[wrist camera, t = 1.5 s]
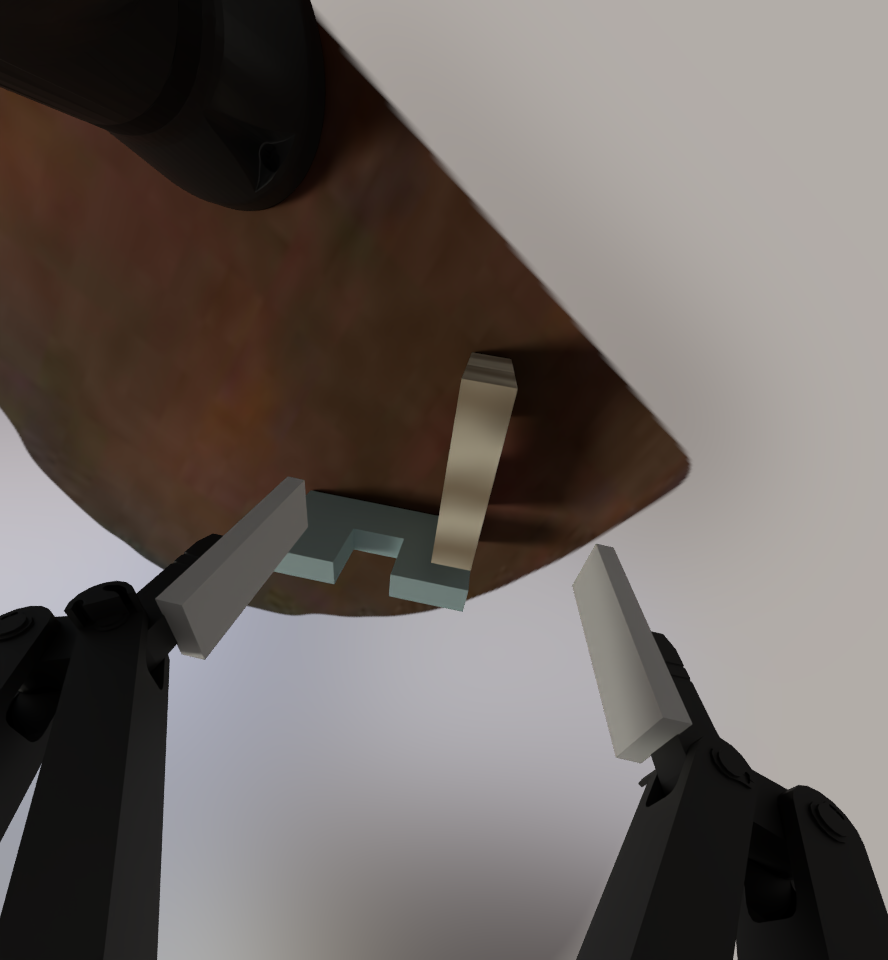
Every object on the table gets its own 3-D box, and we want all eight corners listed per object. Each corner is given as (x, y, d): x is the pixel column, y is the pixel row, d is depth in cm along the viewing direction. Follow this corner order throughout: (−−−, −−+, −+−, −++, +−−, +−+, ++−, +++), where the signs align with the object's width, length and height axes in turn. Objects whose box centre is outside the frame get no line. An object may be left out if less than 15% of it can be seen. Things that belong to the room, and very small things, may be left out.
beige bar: (472, 352, 29) (461, 378, 20) (511, 359, 28) (517, 388, 20) (446, 499, 37) (431, 562, 28) (476, 505, 37) (470, 570, 28)
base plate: (312, 510, 40) (263, 569, 32) (310, 490, 39) (258, 546, 30) (469, 542, 40) (462, 611, 31) (474, 523, 38) (468, 590, 29)
